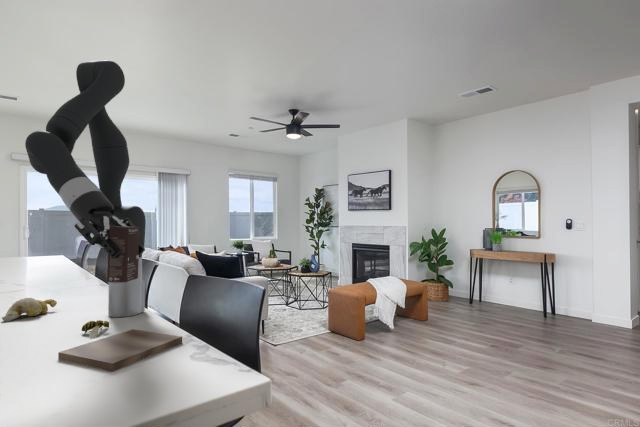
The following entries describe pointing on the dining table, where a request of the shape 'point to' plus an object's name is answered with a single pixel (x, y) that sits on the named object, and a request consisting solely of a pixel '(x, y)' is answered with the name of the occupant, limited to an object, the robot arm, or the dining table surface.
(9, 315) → the yellow plush toy
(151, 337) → the board
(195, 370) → the dining table surface
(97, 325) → the insect
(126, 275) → the box
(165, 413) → the dining table surface
